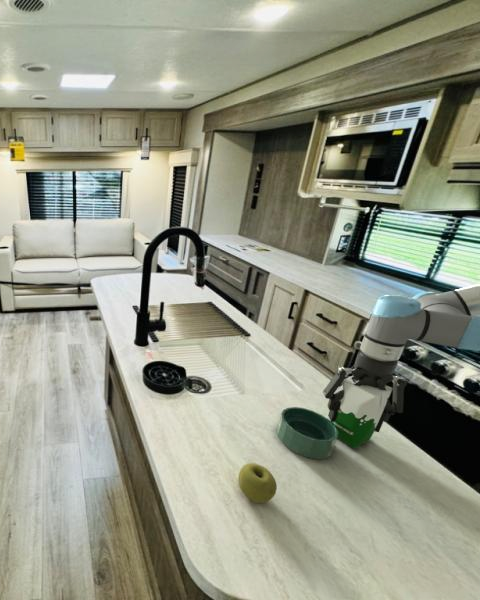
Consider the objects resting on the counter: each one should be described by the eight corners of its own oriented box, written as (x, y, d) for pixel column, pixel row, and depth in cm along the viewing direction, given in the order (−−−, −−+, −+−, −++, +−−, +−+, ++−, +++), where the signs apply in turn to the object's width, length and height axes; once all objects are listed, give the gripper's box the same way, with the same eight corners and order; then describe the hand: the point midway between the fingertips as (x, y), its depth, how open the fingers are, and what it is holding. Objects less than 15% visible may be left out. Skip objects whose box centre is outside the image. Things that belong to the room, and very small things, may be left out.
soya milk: (374, 441, 87) (400, 382, 80) (355, 452, 84) (380, 391, 76) (340, 420, 95) (360, 365, 87) (321, 430, 91) (340, 372, 84)
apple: (244, 510, 70) (249, 487, 67) (230, 478, 78) (235, 457, 75) (279, 511, 70) (286, 489, 67) (261, 479, 77) (267, 458, 74)
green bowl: (324, 431, 91) (330, 413, 89) (337, 466, 80) (345, 447, 77) (273, 419, 96) (278, 402, 93) (280, 451, 85) (285, 433, 82)
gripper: (330, 353, 80) (309, 421, 88) (445, 371, 72) (410, 445, 80) (322, 340, 87) (303, 405, 95) (427, 355, 78) (396, 425, 87)
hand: (352, 423), depth 88 cm, fingers closed on soya milk, 9 cm apart
